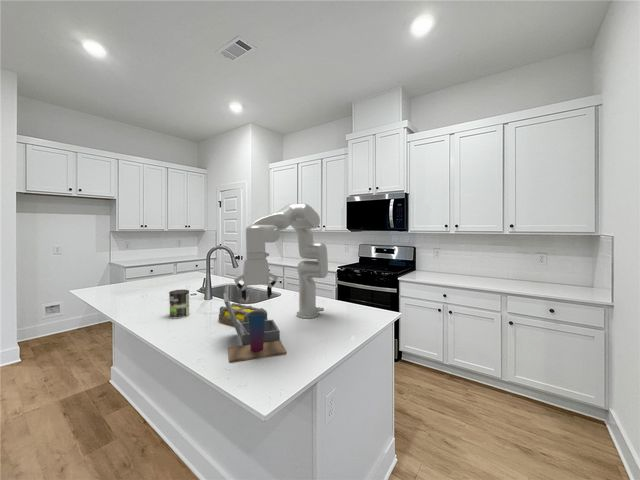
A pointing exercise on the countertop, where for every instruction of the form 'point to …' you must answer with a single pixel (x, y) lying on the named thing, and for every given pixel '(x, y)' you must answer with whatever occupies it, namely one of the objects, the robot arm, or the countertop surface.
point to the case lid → (232, 314)
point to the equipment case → (269, 335)
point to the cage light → (237, 314)
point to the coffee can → (179, 303)
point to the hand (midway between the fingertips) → (256, 298)
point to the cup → (256, 330)
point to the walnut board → (246, 354)
